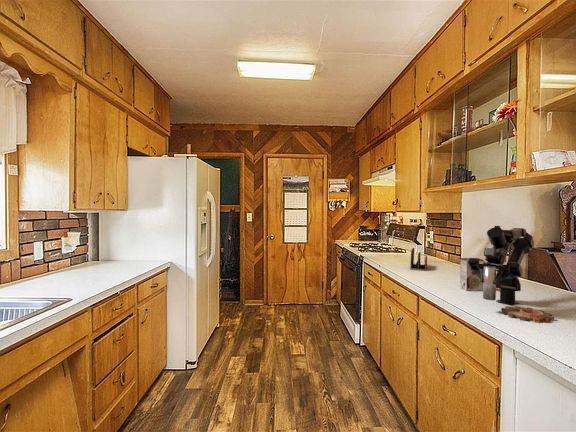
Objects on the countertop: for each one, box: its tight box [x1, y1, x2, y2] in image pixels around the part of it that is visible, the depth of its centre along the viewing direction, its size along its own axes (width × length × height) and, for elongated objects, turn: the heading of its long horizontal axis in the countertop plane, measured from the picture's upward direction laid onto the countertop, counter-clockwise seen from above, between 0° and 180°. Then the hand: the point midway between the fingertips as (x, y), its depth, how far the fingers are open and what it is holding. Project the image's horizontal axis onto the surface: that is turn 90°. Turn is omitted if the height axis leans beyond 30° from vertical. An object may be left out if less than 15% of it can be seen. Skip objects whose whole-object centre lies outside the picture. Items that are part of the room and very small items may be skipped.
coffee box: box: [459, 257, 484, 292], centre depth 172 cm, size 9×6×16 cm
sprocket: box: [500, 305, 555, 323], centre depth 131 cm, size 16×16×3 cm
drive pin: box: [482, 266, 497, 301], centre depth 135 cm, size 4×4×13 cm
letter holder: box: [409, 247, 428, 272], centre depth 235 cm, size 10×20×14 cm, turn 155°
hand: (488, 282), depth 134 cm, fingers closed on drive pin, 4 cm apart
